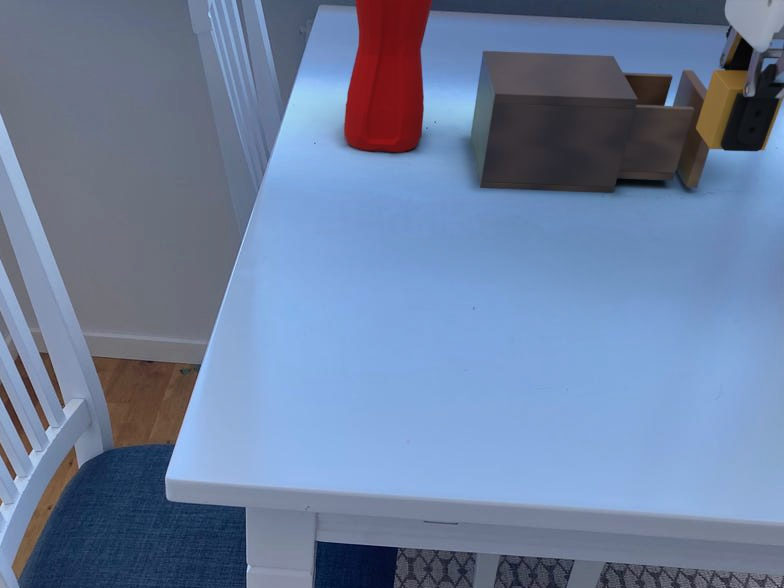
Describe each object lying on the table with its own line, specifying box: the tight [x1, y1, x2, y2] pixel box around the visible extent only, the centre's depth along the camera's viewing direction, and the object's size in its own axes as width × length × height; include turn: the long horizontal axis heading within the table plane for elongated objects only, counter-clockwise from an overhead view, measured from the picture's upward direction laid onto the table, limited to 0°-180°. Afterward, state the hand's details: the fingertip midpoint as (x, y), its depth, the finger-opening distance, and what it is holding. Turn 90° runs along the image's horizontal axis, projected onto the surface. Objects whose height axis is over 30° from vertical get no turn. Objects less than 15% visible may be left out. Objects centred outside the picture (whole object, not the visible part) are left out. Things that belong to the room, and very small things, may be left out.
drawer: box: [617, 69, 711, 189], centre depth 105 cm, size 18×13×8 cm
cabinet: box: [469, 50, 638, 194], centre depth 105 cm, size 15×14×10 cm
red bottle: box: [343, 0, 434, 154], centre depth 105 cm, size 9×11×25 cm
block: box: [696, 69, 784, 151], centre depth 75 cm, size 4×4×4 cm
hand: (731, 134), depth 77 cm, fingers closed on block, 4 cm apart
